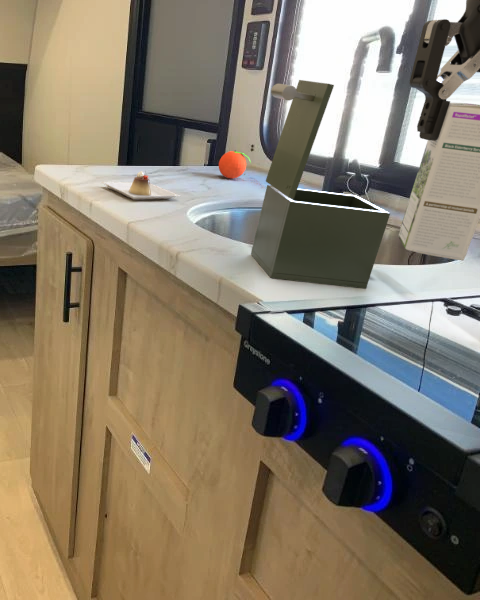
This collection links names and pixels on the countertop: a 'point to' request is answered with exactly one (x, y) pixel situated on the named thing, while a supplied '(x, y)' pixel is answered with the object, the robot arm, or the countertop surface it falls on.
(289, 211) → the trash bin
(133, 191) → the dessert
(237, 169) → the clementine
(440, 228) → the syrup box
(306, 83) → the bin lid
